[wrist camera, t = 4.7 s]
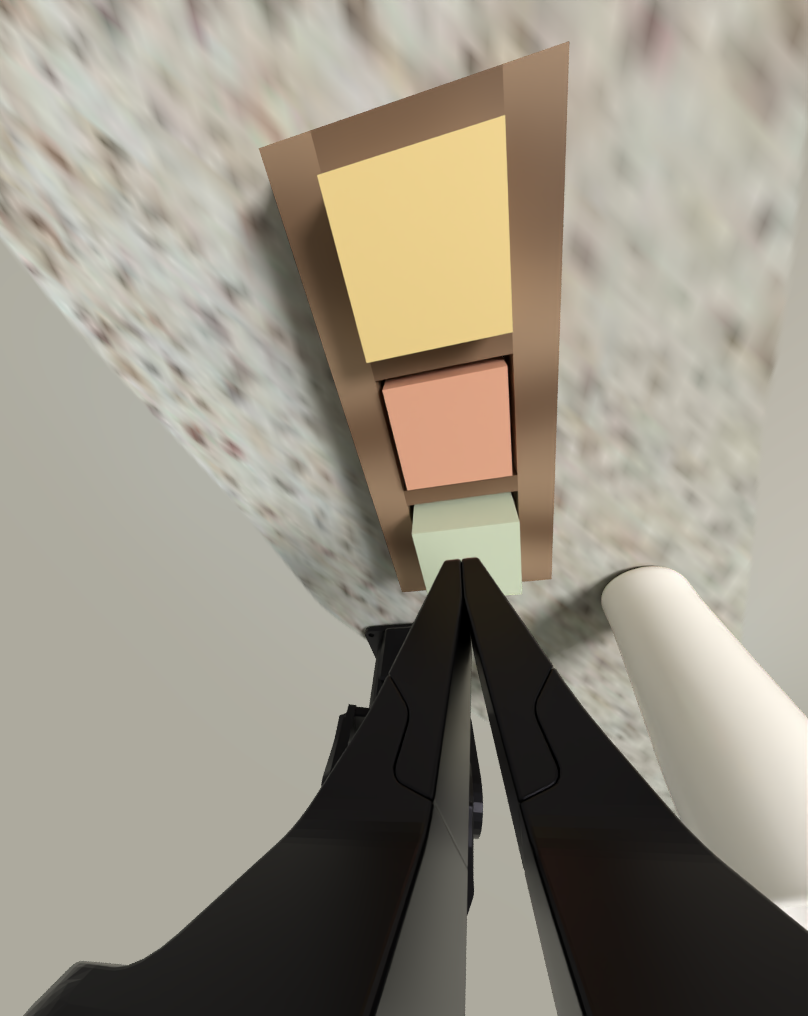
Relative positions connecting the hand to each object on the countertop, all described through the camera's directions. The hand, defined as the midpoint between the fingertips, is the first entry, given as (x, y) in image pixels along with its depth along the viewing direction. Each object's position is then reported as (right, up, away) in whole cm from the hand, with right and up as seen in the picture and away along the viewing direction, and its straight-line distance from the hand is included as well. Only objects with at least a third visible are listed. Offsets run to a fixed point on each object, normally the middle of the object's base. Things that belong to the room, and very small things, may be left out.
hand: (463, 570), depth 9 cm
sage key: (+2, 0, +11) cm, 11 cm away
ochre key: (-1, +11, +4) cm, 11 cm away
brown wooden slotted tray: (+1, +7, +9) cm, 11 cm away
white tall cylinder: (+15, -4, +16) cm, 22 cm away
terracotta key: (+1, +6, +9) cm, 11 cm away
